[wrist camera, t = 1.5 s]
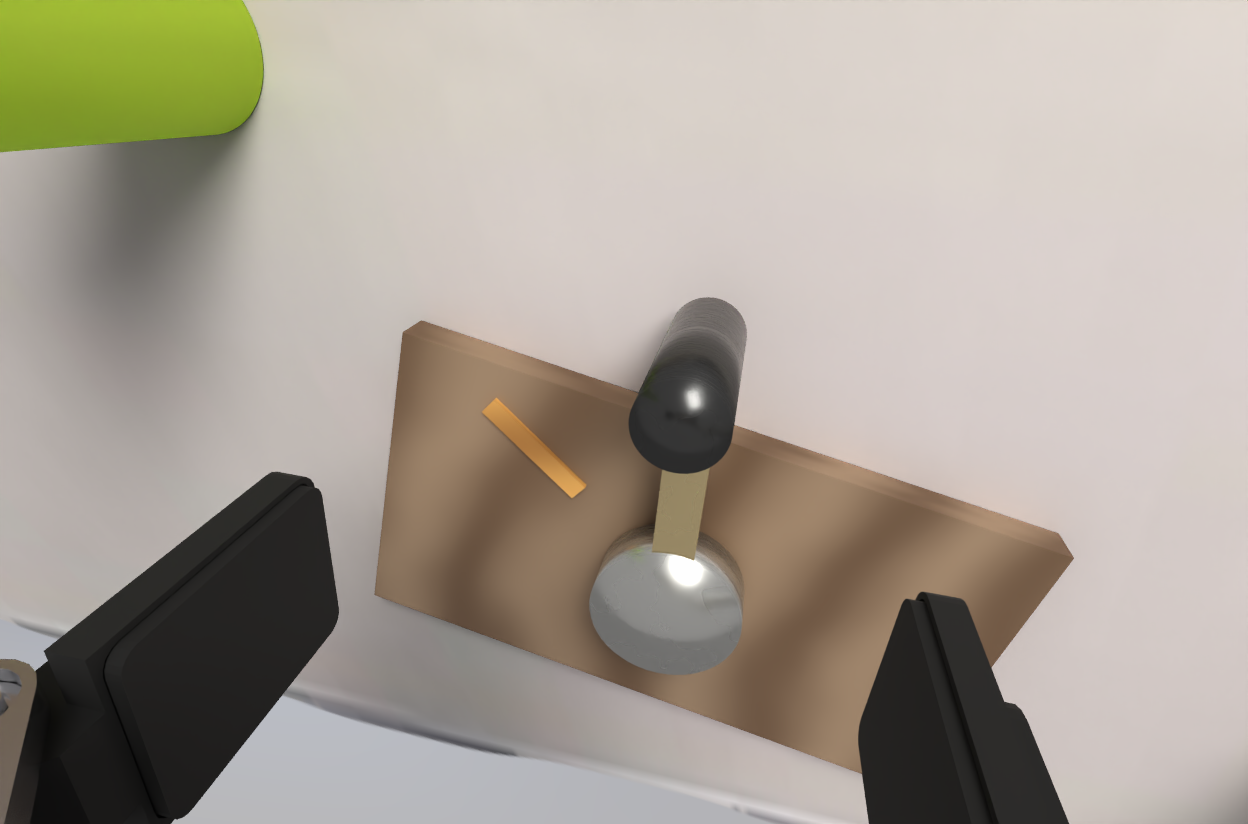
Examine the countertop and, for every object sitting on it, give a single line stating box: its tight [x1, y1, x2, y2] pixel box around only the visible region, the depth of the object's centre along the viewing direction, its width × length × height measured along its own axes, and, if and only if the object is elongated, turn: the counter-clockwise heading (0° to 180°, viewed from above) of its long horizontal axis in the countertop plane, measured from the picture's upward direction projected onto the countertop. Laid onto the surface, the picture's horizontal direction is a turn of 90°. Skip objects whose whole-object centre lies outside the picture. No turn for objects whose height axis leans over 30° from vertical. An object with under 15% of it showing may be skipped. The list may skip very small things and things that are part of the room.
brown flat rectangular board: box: [375, 321, 1074, 774], centre depth 29 cm, size 26×14×2 cm, turn 75°
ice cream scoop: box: [589, 297, 747, 675], centre depth 23 cm, size 15×6×7 cm, turn 175°
